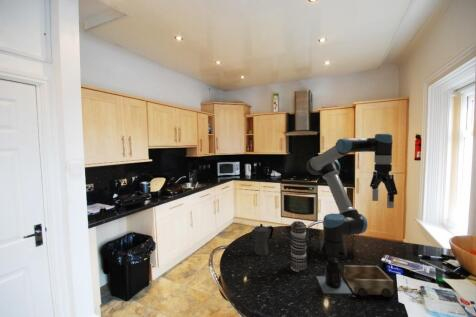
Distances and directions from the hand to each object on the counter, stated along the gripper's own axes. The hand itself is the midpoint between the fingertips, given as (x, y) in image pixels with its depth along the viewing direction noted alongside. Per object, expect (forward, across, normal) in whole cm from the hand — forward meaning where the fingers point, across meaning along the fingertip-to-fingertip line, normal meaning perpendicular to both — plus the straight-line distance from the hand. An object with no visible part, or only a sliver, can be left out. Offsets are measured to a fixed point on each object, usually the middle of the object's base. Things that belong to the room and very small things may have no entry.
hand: (382, 204), depth 115 cm
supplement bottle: (+34, -16, +30) cm, 48 cm away
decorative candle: (+35, -1, +43) cm, 56 cm away
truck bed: (+35, -16, +15) cm, 41 cm away
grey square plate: (+34, -16, +24) cm, 45 cm away
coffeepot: (+35, +17, +62) cm, 73 cm away
